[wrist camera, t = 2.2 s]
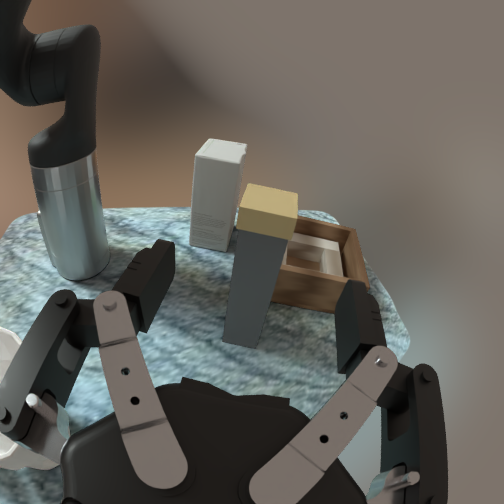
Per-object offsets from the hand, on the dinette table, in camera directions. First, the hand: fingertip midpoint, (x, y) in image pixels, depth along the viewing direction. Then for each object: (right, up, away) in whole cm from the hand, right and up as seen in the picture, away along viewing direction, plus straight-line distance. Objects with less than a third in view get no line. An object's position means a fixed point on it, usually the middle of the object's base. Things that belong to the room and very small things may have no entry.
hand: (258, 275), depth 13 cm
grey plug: (-1, -9, +21) cm, 23 cm away
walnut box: (+7, -2, +31) cm, 32 cm away
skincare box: (-7, +4, +36) cm, 36 cm away
